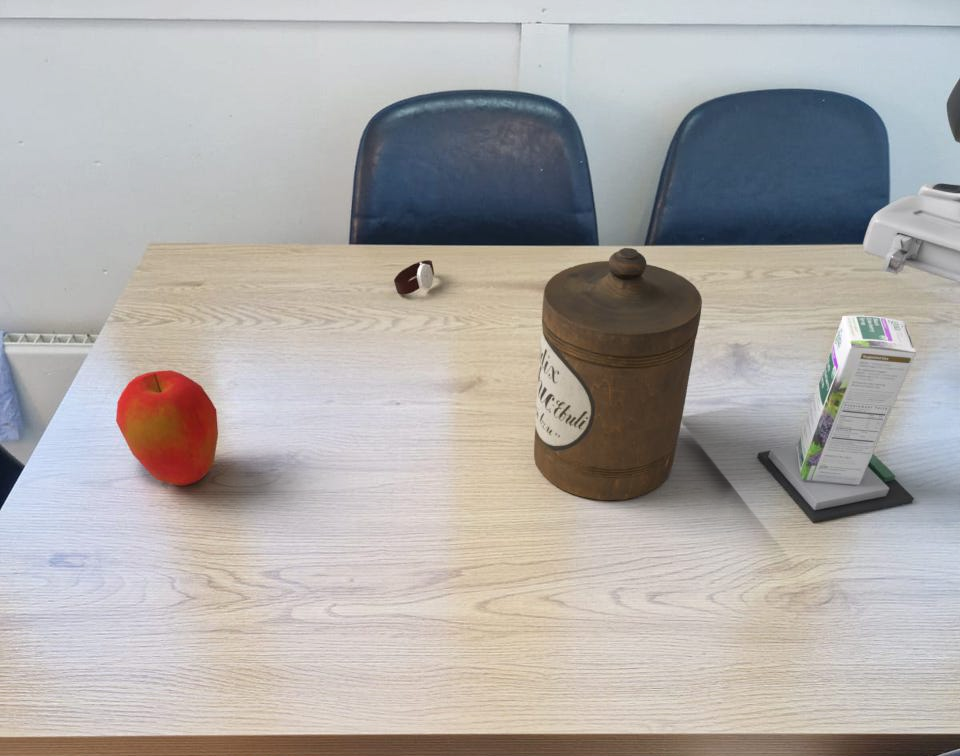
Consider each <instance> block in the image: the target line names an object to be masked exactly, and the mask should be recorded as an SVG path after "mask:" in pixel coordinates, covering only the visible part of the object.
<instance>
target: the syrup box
mask: <svg viewBox="0 0 960 756" xmlns="http://www.w3.org/2000/svg"><path fill="white" fill-rule="evenodd" d="M834 337H835V338H834V341H833V344H832V347H831V348H830V352H829V354H828V357H827V359H826V363H825V365H824V368H823V371H822V374H821V375H820V379H819V382H818V384H817V388H816V391H815V393H814V395H813V399H812V402H811V404H810V407H809V410H808V412H807V416H806V419H805V421H804V424H803V427H802V429H801V433H800V436H799V439H798V442H797V444H798V445H797V444H796V445H797V456H798V463H799V469H800V475H801V479H802V480H803V481H814V482H824V483H836V484H851V485H859V484H860V482H861V480H862V478H863V475H864V473H865V471H866V468H867V466H868V464H869V462H870V459H871V457H872V455H873V454H874V452H875V450H876V448H877V444H878V443H879V440H880V439H881V435H882V433H883V431H884V428H885V426H886V424H887V421H888V419H889V417H890V415H891V412H892V410H893V409H894V406H895V403H896V401H897V398H898V396H899V394H900V392H901V389H902V387H903V385H904V382H905V380H906V378H907V376H908V373H909V370H910V368H911V366H912V364H913V361H914V359H915V357H916V355H917V350H916V348H915V347H914V344H913V340H912V336H911V334H910V331H909V329H908V326H907V323H906V322H905V321H904V320H898V319H894V318H889V317H883V316H874V315H843V316H842V317H841V320H840V323H839V326H838V329H837V331H836V335H835V336H834Z"/></svg>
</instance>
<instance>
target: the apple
mask: <svg viewBox="0 0 960 756" xmlns="http://www.w3.org/2000/svg"><path fill="white" fill-rule="evenodd" d="M217 412H218V411H217V409H216V407H215V405H214V403H213V401H212V399H211V398H210V396H209V395H208V393H207V392H206V391H205V389H204V388H203V387H202V385H201V384H199V383H198V382H196V381H194V380H193V379H192V378H190V377H188V376H186V375H184V374H183V373H180V372H177V371H175V370H172V369H171V370H157V371H151V372H150V371H149V372H146V373H143V374H140V375H138V376H135V378H133V379H131V380H130V381H129V382H128V383H127V385H126V387H124V389H123V391H122V392H121V393H120V396H119V399H118V401H117V406H116V415H115V422H116V424H117V426H118V428H119V431H120V432H121V434H122V436H123V439H124V440H125V442H126V445H127V446H128V448H129V450H130V452H131V454H132V455H133V457H135V459H136V460H137V461H138V462H139V463H140V464H141V465H142V466H143V468H145V469H146V471H147V472H148V473H149V474H150V475H151V476H152V477H153V478H154V479H155V480H157V481H160V482H164V483H167V484H171V485H175V486H190V485H192V484H195V483H197V482H199V481H200V480H201V479H203V478H204V477H205V476H206V475H207V473H208V472H209V471H210V470H211V469H212V467H213V465H214V463H215V458H216V452H217V444H218V439H219V438H218V437H219V427H218V426H219V425H218V413H217Z"/></svg>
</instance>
